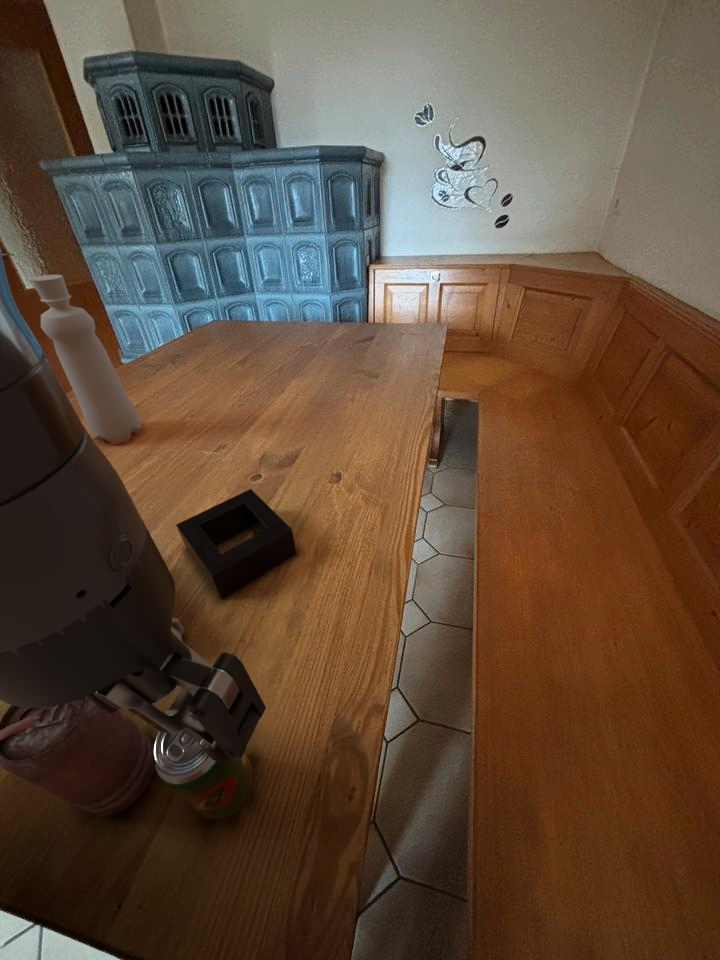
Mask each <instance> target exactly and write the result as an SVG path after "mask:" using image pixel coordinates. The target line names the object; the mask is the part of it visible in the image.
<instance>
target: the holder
mask: <svg viewBox="0 0 720 960" xmlns="http://www.w3.org/2000/svg"><path fill="white" fill-rule="evenodd" d="M176 527H177V530H178V533H179V535H180V537H181V540H182V541H183V544H184V546H185V548H186V550H187V552H188V553H189V554H190V556H191V557H192V559H193V560H194V562H195V563H196V565H197V566H198V568H199V570H201V572H202V574H203V576H205V578H206V579H207V581H208V583H209V584H210V585H211V587H212V588H213V590H214V591H215V593H216V594H217V596H218V597H219V598H220V600H223V599H225V598H227V597H228V596H230V595H231V594H233V593H235V592H236V591H238V590H240V589H241V588H243V587H244V586H246V585H247V584H249V583H251V582H253V581H254V580H256V579H257V578H259V577H260V576H262V575H264V574H265V573H268V572H269V571H270V570H272V569H273V568H275V567H277V566H279V565H280V564H282V563H284V562H285V561H287V560H288V559H290V558H291V557H293V556H295V555H296V554H297V548H296V544H295V543H296V541H295V537H294V531H293V528H291V526H290V525H289V524H287V523H286V522H285V521H284V520H283V519H282V518H281V517H280V516H279V515H278V514H277V512H275V510H274V509H272V508H271V507H270V506H269V505H268V504H267V503H266V502H265V501H264V500H263V499H262V498H261V497H260V496H259V495H258V494H257V493H256V492H255V491H254V490H253V489H252V488H250V489H247V490H246V491H243V492H241V493H239V494H237V495H235V496H233V497H231V498H228V499H226V500H224V501H222V502H220V503H218V504H216V505H214V506H212V507H209V508H208V509H205V510H204V511H202V512H199V513H197V514H196V515H193V516H190V517H189V518H187V519H185V520H183V521H181V522H179V523H176ZM249 528H251V529H252V530H253V531H254V533H256V534H255V535H254V536H251V537H250V538H248V539H246V540H245V541H243V542H241V543H239V544H238V545H235V546H233V547H232V548H230V549H229V550H226V551H225V552H223V553H221V552H220V550H219V549H218V548H217V546H218V545H220V544H222V543H223V542H225V541H227V540H229V539H231V538H233V537H234V536H236V535H238V534H240V533H242V532H245V531H246V530H248V529H249Z"/></svg>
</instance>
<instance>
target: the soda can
mask: <svg viewBox="0 0 720 960" xmlns="http://www.w3.org/2000/svg"><path fill="white" fill-rule="evenodd" d="M193 719H194V720H195V721H197V722H198V723H199V724H201V723H200V722H199V721H198V720H197V718H196V719H195V718H193ZM201 725H202V724H201ZM153 762H154V768H155V770H154V772H155V774H156V775H157V777H158V778H159V779H160V780H161V781H162V782H163V783H164V784H165V785H166V786H168V787H169V788H170V789H171V790H173V791H174V792H175V793H176V794H177V795H178V796H179V797H180V798H182V799H183V800H184V801H185V802H186V803H187V804H189V805H190V806H191V807H192V808H194V809H195V810H196V811H197V812H198V813H199V814H200V815H202V816H203V817H205V819H209V820H213V821H219V820H224V819H227V818H229V817H231V816H232V815H234V814H235V813H236V812H238V810H239V809H241V807H242V806H243V805H244V803H245V802H246V800H247V799H248V797H249V795H250V794H251V793H250V792H251V790H252V787H253V781H254V767H253V765H252V762H251V760H250V758H249V756H248V755H247V753H246V751H245V752H244V754H243V756H242V758H237V757H234V758H230V757H228V758H227V760H226V761H225V763H223V764H221V763H219V762H217V761H215V760H212V759H211V757H210V756H209V755H208V754H207V753H206V751H205V750H204V749H203V748H202V747H201V746H199V743H198V742H197V741H196V740H195V739H193V738H192V737H190V736H189V735H187V734H186V733H184V732H183V731H181V732H180V733H178V734H171V733H165V732H161V731H159V730H158V733H157V735H156V738H155V741H154V755H153Z"/></svg>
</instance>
